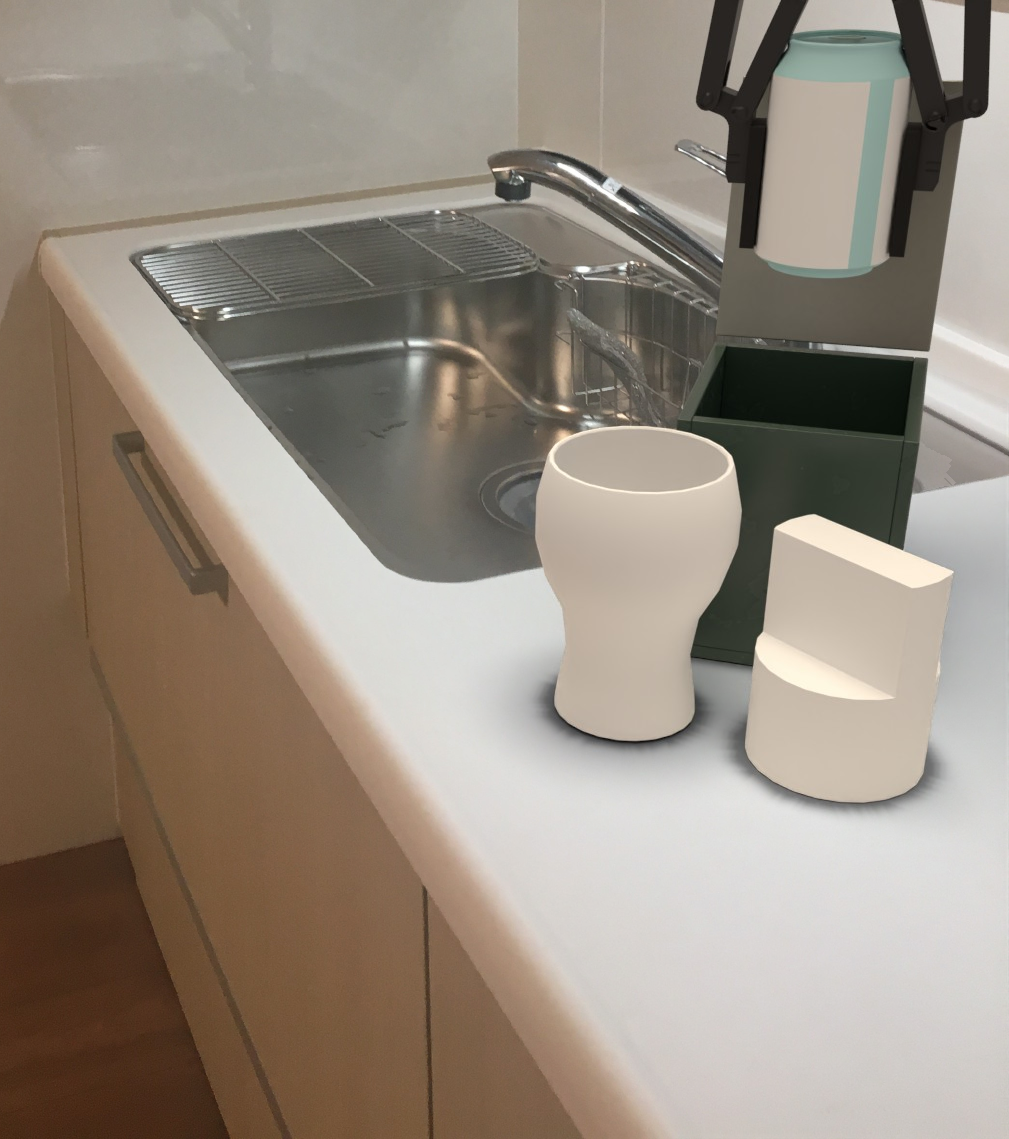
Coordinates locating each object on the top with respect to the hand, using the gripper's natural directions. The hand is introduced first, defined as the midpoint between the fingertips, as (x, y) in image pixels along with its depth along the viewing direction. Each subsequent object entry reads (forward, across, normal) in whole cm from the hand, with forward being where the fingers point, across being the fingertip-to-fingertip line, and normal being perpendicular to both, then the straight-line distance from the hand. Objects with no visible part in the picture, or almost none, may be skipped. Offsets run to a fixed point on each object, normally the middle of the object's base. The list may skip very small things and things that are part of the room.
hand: (822, 245), depth 85 cm
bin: (+24, 0, +2) cm, 24 cm away
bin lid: (+1, 0, +10) cm, 10 cm away
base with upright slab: (+24, +4, -14) cm, 28 cm away
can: (+1, 0, 0) cm, 1 cm away
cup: (+24, -7, -12) cm, 28 cm away
